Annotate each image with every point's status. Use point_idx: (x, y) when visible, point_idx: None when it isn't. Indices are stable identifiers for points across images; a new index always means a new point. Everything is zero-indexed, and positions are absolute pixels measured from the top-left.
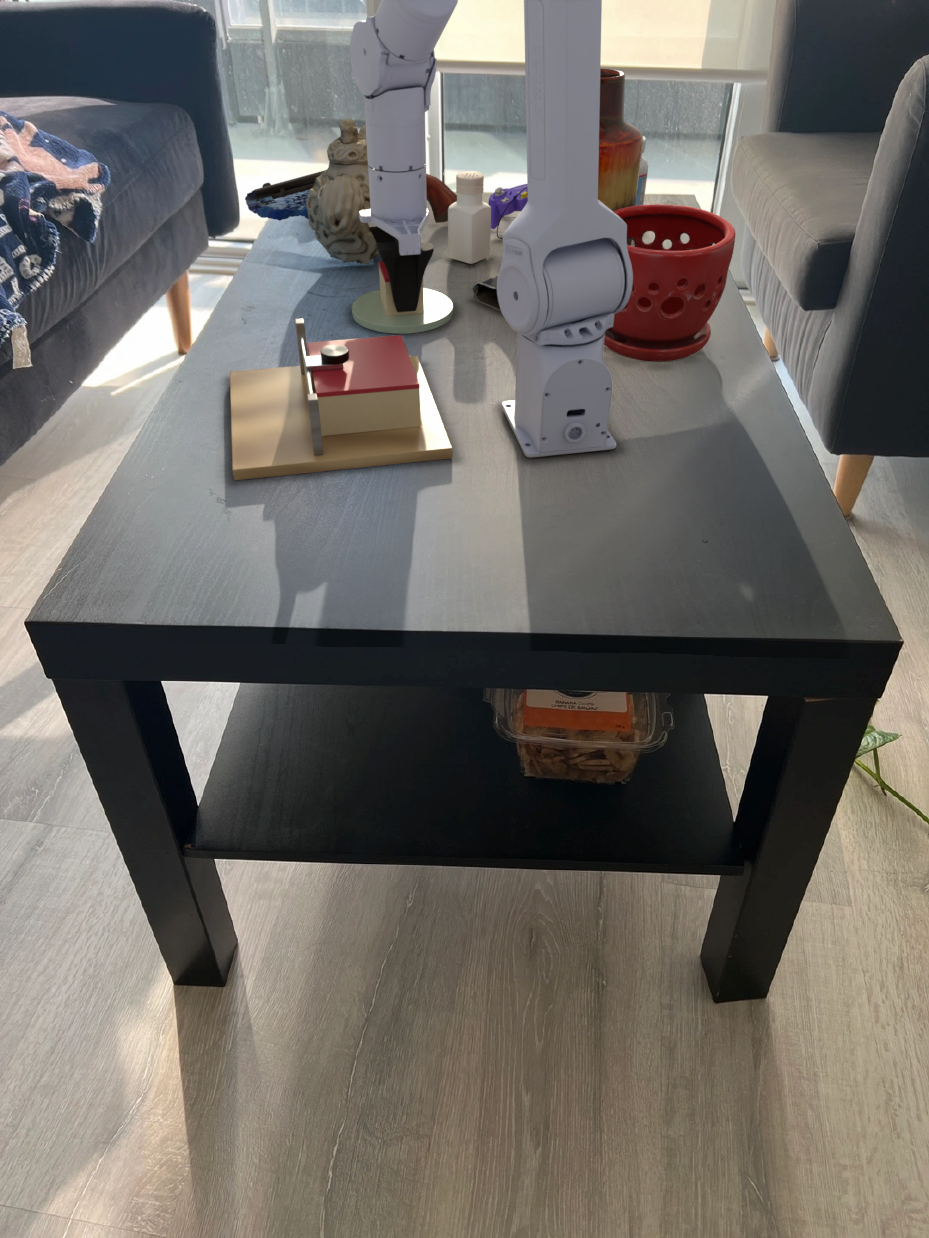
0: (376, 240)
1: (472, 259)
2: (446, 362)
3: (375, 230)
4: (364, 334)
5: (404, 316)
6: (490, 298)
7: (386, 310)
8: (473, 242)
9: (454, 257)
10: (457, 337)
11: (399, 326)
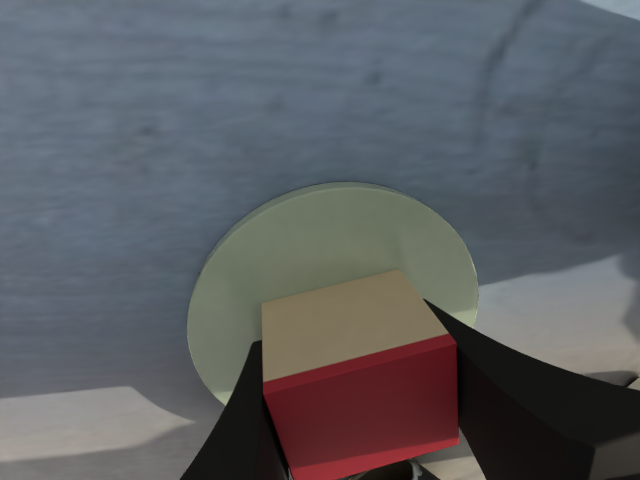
0: (523, 410)
1: None
2: (35, 445)
3: (563, 459)
4: (176, 237)
5: None
6: (405, 466)
7: (262, 312)
8: None
9: (636, 386)
10: (192, 442)
11: (188, 344)
